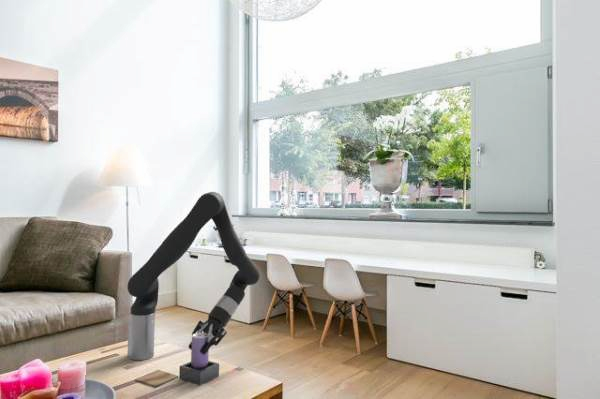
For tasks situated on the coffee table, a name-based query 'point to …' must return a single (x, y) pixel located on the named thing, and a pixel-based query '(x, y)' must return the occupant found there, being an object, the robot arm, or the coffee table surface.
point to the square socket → (199, 373)
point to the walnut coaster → (157, 378)
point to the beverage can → (197, 357)
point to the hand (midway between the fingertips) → (196, 350)
